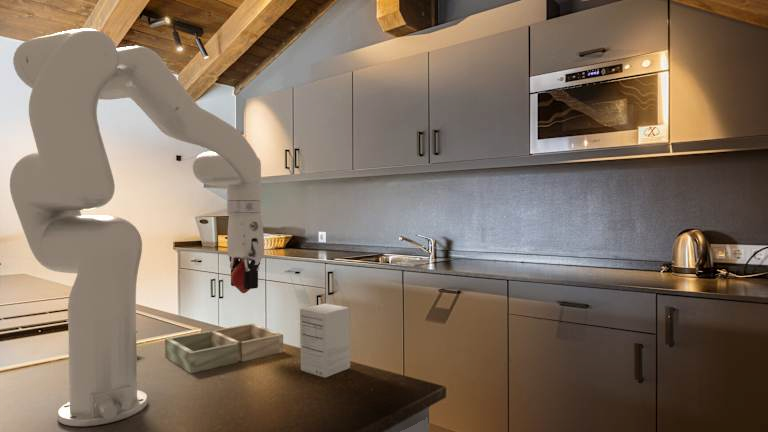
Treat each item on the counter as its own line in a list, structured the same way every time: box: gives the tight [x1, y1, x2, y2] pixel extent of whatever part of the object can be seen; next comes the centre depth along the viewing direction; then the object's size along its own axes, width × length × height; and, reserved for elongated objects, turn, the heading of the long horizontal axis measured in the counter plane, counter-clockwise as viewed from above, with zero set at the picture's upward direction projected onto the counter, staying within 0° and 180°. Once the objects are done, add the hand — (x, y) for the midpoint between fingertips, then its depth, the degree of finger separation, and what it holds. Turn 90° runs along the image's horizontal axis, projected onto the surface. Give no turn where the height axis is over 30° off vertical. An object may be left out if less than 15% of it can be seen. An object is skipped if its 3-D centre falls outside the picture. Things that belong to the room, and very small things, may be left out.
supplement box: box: [299, 303, 351, 379], centre depth 98 cm, size 7×7×13 cm
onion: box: [230, 259, 251, 294], centre depth 112 cm, size 6×6×8 cm
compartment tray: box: [164, 322, 284, 374], centre depth 109 cm, size 15×21×4 cm
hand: (244, 286), depth 112 cm, fingers closed on onion, 5 cm apart
